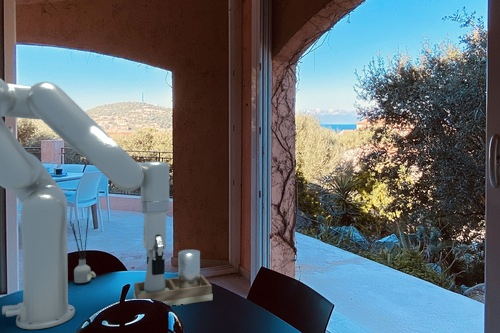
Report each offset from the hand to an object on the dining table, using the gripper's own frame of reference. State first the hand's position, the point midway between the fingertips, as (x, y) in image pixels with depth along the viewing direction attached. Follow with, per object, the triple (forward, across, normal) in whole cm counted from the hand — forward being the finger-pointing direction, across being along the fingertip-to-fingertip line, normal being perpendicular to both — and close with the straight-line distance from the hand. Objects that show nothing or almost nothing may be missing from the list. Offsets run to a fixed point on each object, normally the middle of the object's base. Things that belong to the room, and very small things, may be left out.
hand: (155, 269), depth 102 cm
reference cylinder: (+7, 0, +9) cm, 12 cm away
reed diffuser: (+9, -24, -19) cm, 32 cm away
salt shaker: (+7, 0, 0) cm, 7 cm away
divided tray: (+9, 0, +5) cm, 10 cm away
